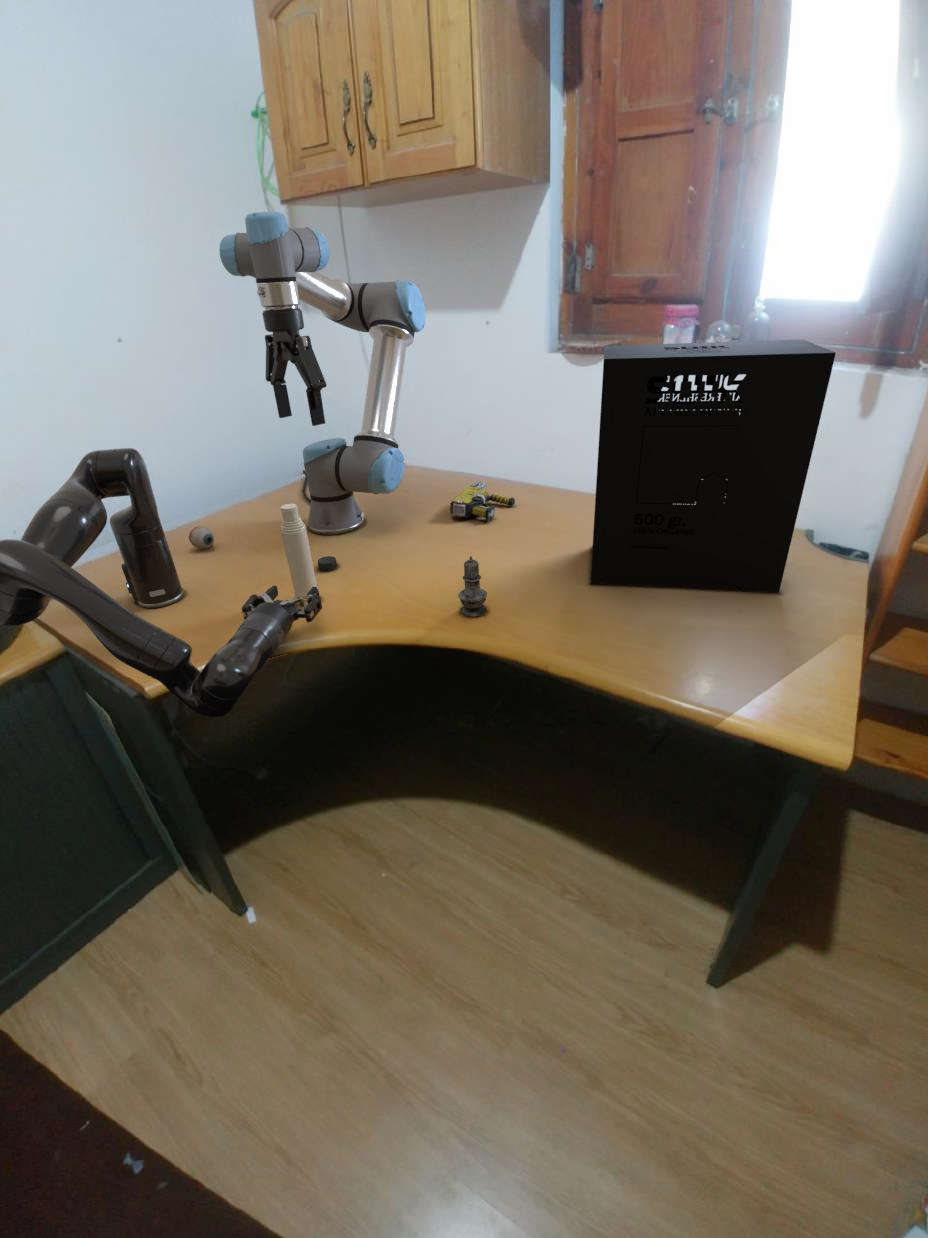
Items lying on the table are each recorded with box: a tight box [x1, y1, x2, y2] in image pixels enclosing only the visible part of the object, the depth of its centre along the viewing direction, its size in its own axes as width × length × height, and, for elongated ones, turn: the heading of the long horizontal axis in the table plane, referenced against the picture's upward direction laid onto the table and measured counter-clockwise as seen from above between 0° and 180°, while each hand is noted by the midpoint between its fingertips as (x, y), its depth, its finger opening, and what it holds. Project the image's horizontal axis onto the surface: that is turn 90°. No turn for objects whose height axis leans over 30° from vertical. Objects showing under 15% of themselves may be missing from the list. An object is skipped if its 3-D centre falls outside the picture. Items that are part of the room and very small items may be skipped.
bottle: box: [280, 503, 319, 606], centre depth 125 cm, size 5×5×22 cm
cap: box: [317, 555, 338, 573], centre depth 144 cm, size 4×4×2 cm
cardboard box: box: [590, 338, 837, 594], centre depth 124 cm, size 38×20×45 cm, turn 78°
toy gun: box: [449, 480, 516, 522], centre depth 174 cm, size 5×24×15 cm
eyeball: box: [188, 525, 215, 550], centre depth 158 cm, size 6×6×6 cm
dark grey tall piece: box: [457, 555, 488, 617], centre depth 120 cm, size 6×6×12 cm
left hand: (295, 590), depth 123 cm, fingers open, 8 cm apart
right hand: (301, 420), depth 128 cm, fingers open, 13 cm apart
